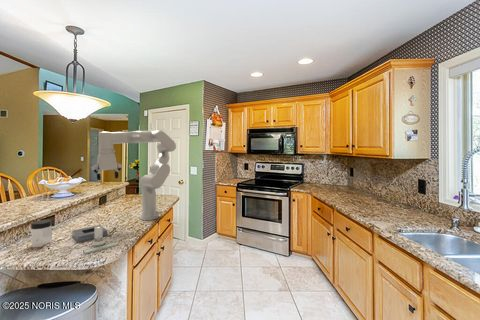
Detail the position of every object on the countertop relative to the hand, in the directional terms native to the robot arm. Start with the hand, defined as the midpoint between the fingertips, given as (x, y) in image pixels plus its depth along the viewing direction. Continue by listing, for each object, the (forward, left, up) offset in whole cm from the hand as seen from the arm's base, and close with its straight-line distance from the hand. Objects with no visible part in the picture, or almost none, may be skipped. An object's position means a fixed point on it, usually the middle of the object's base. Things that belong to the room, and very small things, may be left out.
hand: (108, 179), depth 144 cm
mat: (+12, +26, -31) cm, 42 cm away
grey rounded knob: (+12, +25, -30) cm, 42 cm away
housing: (+12, +9, -31) cm, 35 cm away
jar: (+32, +2, -32) cm, 45 cm away
